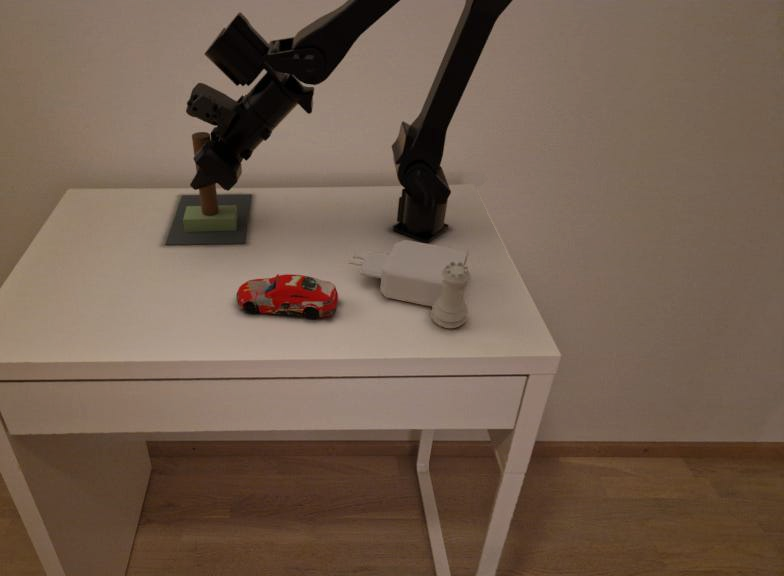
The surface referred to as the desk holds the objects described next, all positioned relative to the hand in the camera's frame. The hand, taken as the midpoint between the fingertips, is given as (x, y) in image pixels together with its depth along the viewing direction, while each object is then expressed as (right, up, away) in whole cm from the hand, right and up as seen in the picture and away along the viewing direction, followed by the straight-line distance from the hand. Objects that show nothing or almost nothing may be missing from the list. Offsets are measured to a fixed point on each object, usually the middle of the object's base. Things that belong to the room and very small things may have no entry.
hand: (195, 183), depth 90 cm
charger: (+30, -17, -9) cm, 35 cm away
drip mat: (+1, -4, +6) cm, 8 cm away
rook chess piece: (+35, -22, -15) cm, 44 cm away
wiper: (+2, -5, +4) cm, 7 cm away
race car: (+14, -20, -13) cm, 28 cm away
